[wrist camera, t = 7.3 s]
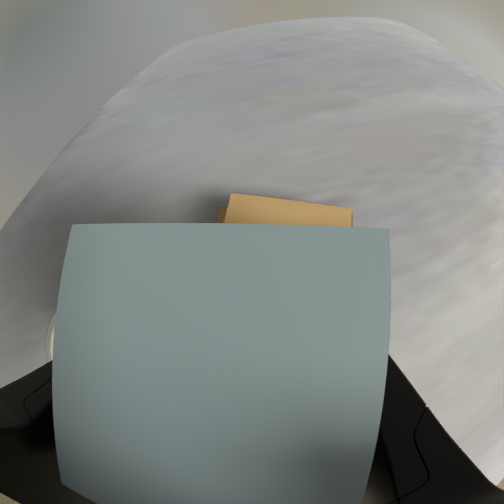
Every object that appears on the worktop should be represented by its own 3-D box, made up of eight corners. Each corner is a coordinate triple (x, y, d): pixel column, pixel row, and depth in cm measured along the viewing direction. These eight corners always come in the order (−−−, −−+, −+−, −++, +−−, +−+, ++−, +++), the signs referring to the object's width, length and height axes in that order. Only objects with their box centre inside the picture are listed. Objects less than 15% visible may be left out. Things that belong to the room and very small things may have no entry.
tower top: (330, 337, 18) (334, 337, 16) (214, 315, 20) (202, 312, 17) (346, 223, 20) (351, 209, 18) (238, 208, 22) (231, 193, 19)
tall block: (315, 404, 13) (343, 554, 2) (216, 395, 14) (61, 483, 3) (323, 306, 14) (388, 228, 4) (224, 300, 15) (72, 223, 4)
